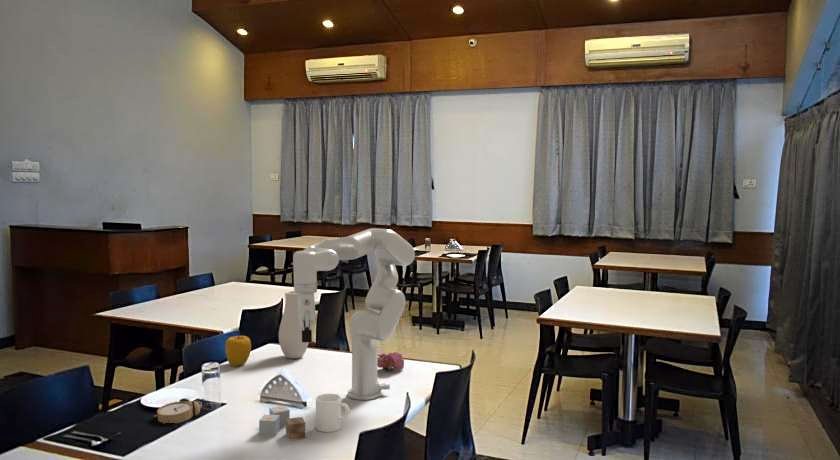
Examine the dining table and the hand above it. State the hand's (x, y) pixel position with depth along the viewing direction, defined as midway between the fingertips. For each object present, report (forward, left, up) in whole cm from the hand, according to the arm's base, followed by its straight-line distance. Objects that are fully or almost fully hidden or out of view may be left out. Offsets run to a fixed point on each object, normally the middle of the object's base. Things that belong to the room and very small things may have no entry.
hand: (306, 341), depth 203 cm
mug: (-8, +12, -26) cm, 30 cm away
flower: (-37, -46, -26) cm, 64 cm away
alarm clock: (+42, -8, -26) cm, 50 cm away
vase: (+3, -74, -26) cm, 78 cm away
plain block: (+4, +16, -26) cm, 31 cm away
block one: (+12, +12, -26) cm, 31 cm away
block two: (+9, +5, -26) cm, 28 cm away
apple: (+27, -66, -26) cm, 76 cm away
